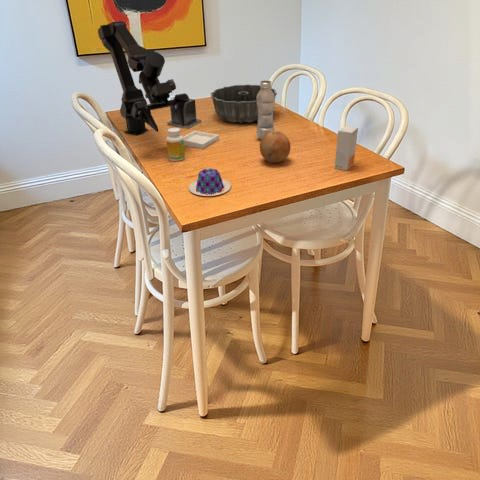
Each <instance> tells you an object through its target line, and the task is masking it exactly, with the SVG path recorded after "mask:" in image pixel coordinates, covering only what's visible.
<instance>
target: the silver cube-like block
mask: <svg viewBox="0 0 480 480" xmlns="http://www.w3.org/2000/svg"><path fill="white" fill-rule="evenodd" d="M189 99H190V100H189V102H188V104H187V106H186V108H185V109H184V126H182V125H181V123H180V121H179V120H178V118H177V116H176V114H175V109H174V108H173V106H171V107H169V108H170V110H169V111H170V118H171V120H169V121H168V122H167V123H166V124H167V126H170V127H175V128H180V129H191V128H193V127H194V126H196V125H198V124H201V123H202V119H200V118H197V110H196V109H197V108H196V99H193V98H189Z"/></svg>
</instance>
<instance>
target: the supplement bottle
mask: <svg viewBox="0 0 480 480" xmlns="http://www.w3.org/2000/svg"><path fill="white" fill-rule="evenodd" d="M183 136H184V135H182V134H181V128H180V127H170V128H168V129H167V136H166V148H167V156H168V159H169V161H170V162H171V161H172V162H178V161H183V160H184V159H185V157H186V154H185V146H184V141H183Z"/></svg>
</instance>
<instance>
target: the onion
mask: <svg viewBox="0 0 480 480" xmlns="http://www.w3.org/2000/svg"><path fill="white" fill-rule="evenodd" d="M259 152H260V155H261V156H262V158H263V159H265V160H266V161H268V162H270V163H273V164H276V163H281V162H283V161H284V160H286V159H287V158H288V157H289V156H290V153H291V141H290V140H289V137H288V136H287V135H286V134H285V133H284V132H281V131H279V130H274V131H270V132H267V133H266V134H265V135H264V136H263V138H262V140H260V143H259Z"/></svg>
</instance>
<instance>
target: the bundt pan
mask: <svg viewBox="0 0 480 480" xmlns="http://www.w3.org/2000/svg"><path fill="white" fill-rule="evenodd" d="M260 90H261V88H260V84H235V85H230V86H223V87H221V88H220V87H219V88H217V89H214V90H213V92H210V98H211V99H212V103H213V107H214V110H215V114H216V115H217V116H218V117H219V118H220V119H222V120H223V121H225V122H231V123H237V122H238V123H240V124H243V123H253V122H258V107H257V100H256V97H257V94H258V92H259V91H260ZM271 90H272V92H273V94H274V96H275V98H276V96H277V95H278V93H277V92H276V91H277V90H276V89H275V88H272V87H271ZM275 103H276V102H274V104H275Z"/></svg>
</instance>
